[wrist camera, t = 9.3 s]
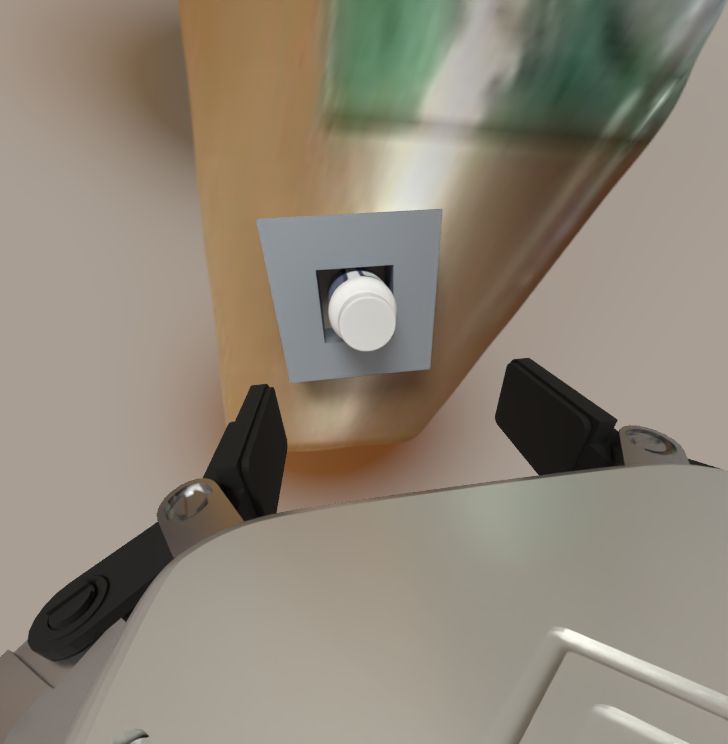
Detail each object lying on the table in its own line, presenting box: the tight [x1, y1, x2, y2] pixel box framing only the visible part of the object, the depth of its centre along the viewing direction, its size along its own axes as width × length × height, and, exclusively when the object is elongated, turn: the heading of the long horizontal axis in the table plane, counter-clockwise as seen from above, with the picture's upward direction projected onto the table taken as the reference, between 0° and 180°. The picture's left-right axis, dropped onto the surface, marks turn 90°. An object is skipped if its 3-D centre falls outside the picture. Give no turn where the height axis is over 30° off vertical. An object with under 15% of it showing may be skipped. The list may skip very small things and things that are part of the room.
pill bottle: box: [328, 267, 397, 351], centre depth 23 cm, size 5×5×10 cm
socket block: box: [256, 209, 442, 383], centre depth 26 cm, size 14×14×5 cm
